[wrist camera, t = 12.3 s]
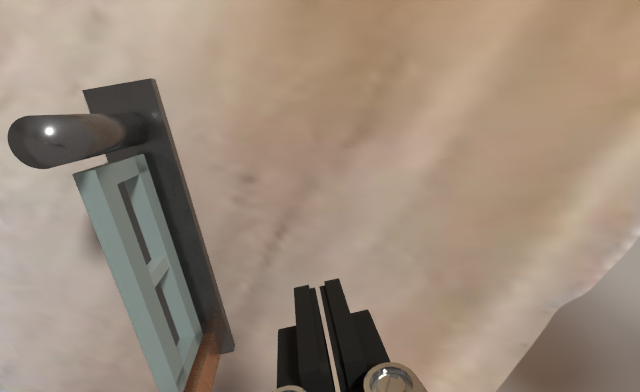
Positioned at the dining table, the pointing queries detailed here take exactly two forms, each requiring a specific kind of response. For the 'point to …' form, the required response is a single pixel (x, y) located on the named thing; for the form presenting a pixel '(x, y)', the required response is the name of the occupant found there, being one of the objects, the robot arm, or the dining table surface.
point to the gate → (143, 266)
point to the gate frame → (166, 172)
